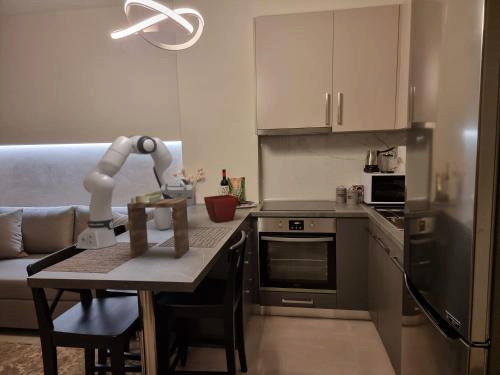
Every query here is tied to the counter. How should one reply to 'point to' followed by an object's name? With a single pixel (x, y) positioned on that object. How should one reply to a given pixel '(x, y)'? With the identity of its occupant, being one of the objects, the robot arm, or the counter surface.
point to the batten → (146, 196)
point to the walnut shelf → (140, 227)
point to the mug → (163, 218)
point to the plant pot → (221, 207)
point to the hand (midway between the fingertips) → (173, 184)
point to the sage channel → (151, 199)
